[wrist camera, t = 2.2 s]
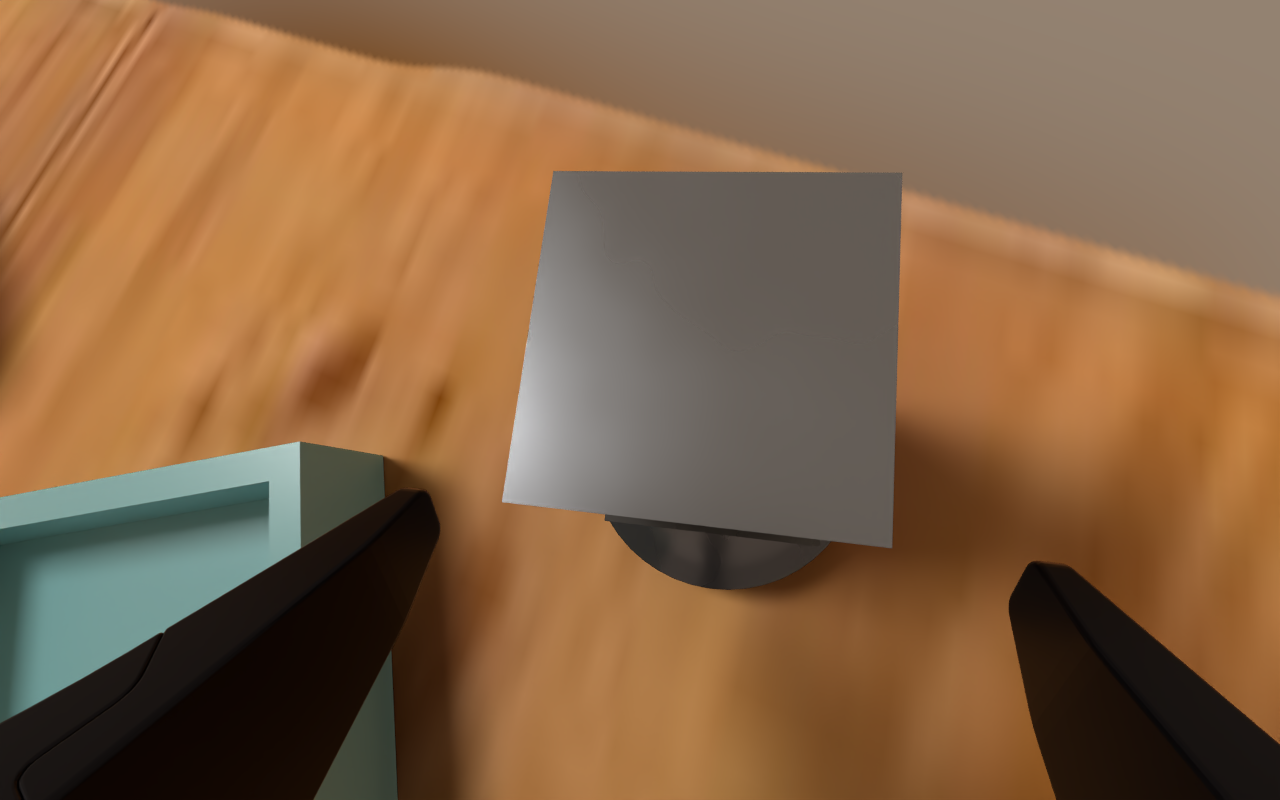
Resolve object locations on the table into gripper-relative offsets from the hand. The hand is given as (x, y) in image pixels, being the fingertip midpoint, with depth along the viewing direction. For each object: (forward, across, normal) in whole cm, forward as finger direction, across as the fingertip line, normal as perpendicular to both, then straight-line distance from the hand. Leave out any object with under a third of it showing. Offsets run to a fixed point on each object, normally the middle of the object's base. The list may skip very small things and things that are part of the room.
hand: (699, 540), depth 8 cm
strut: (+7, 0, +4) cm, 8 cm away
